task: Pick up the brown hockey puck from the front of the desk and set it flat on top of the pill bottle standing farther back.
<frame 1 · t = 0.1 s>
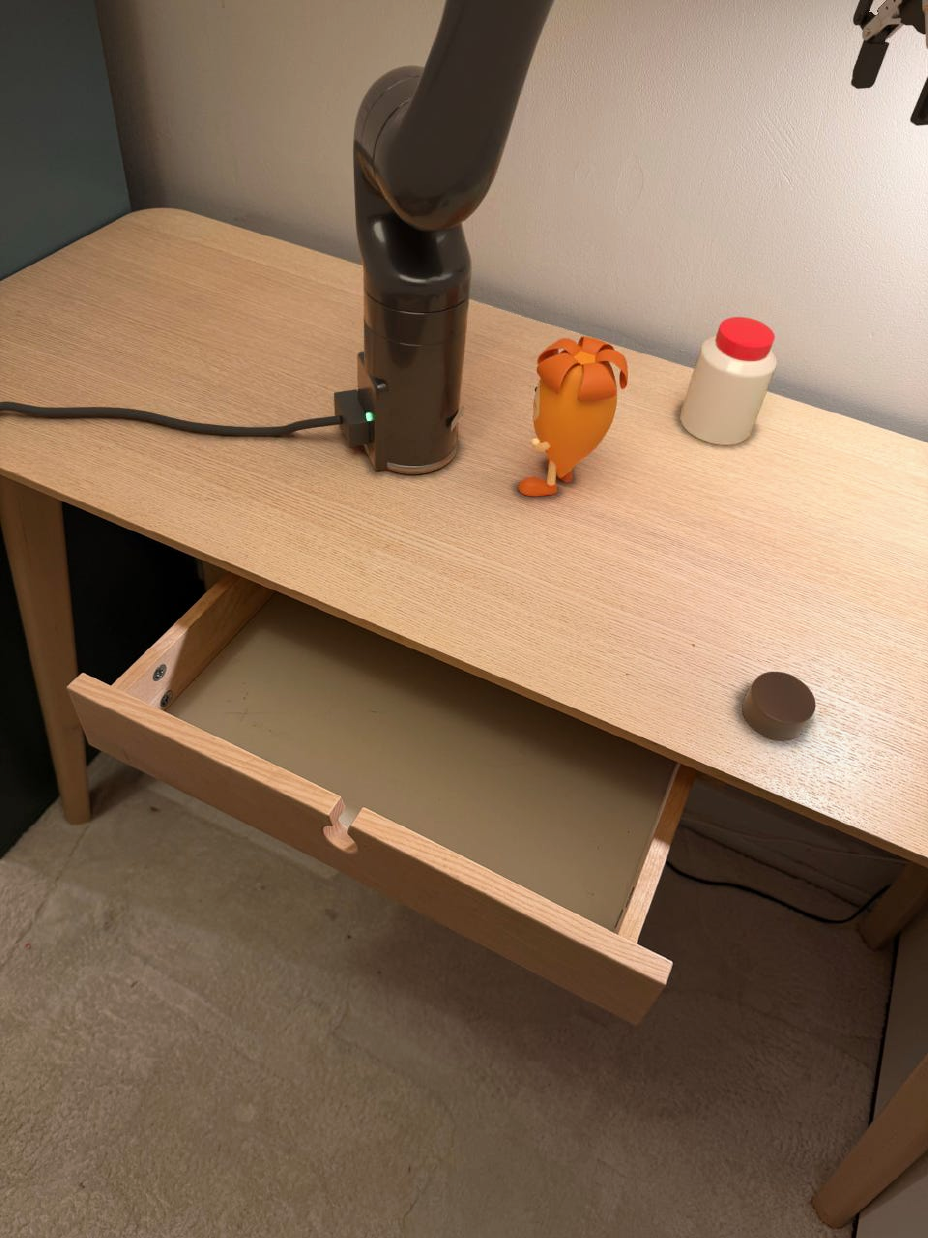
hand: (890, 104, 83), 29 cm above the table, tool pointing down, fingers open, 8 cm apart
brown hockey puck: (773, 714, 73), on the table
pill bottle: (714, 424, 98), on the table
toy figure: (559, 488, 89), on the table
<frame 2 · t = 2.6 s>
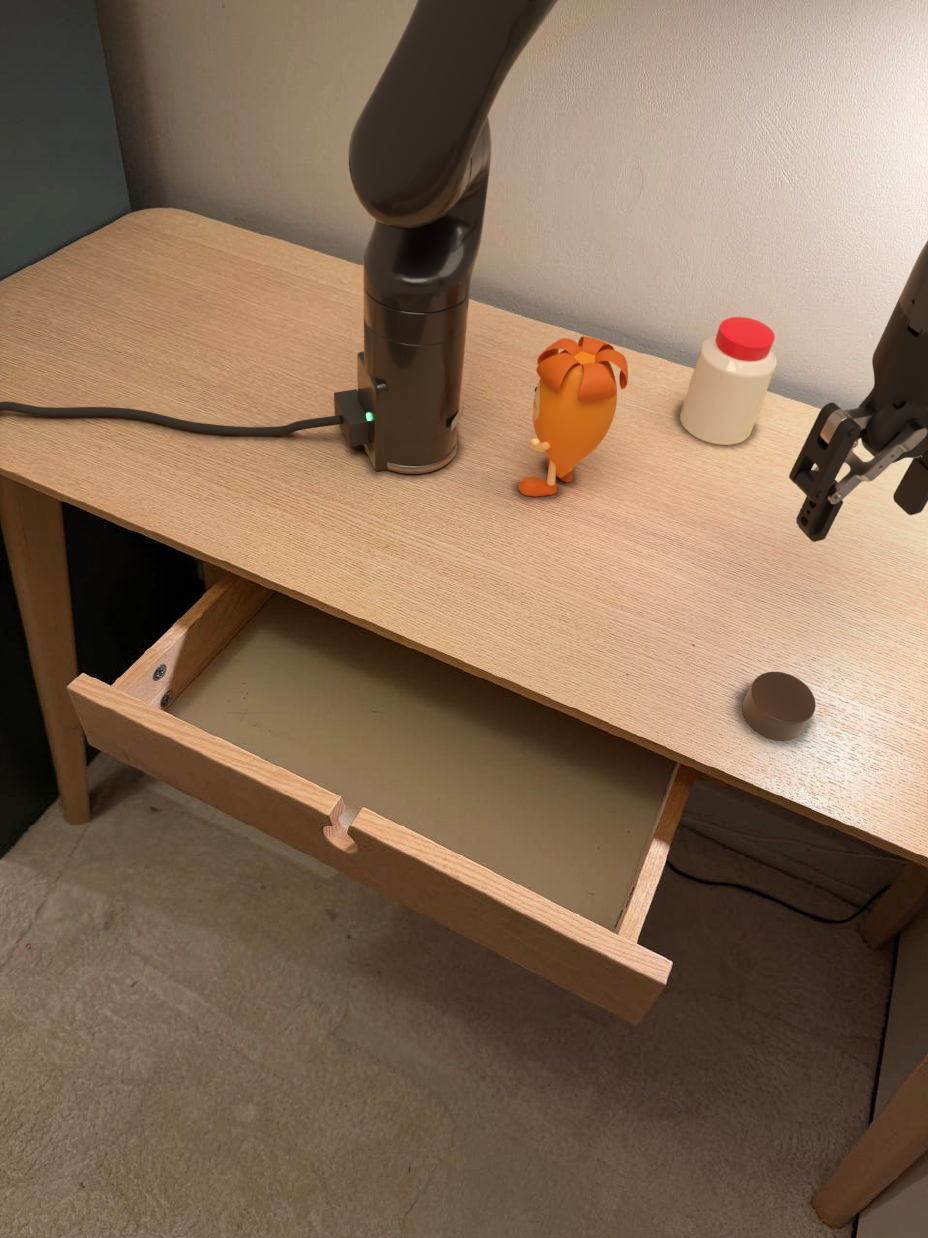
hand: (857, 520, 64), 16 cm above the table, tool pointing down, fingers open, 8 cm apart
nothing on the table moved.
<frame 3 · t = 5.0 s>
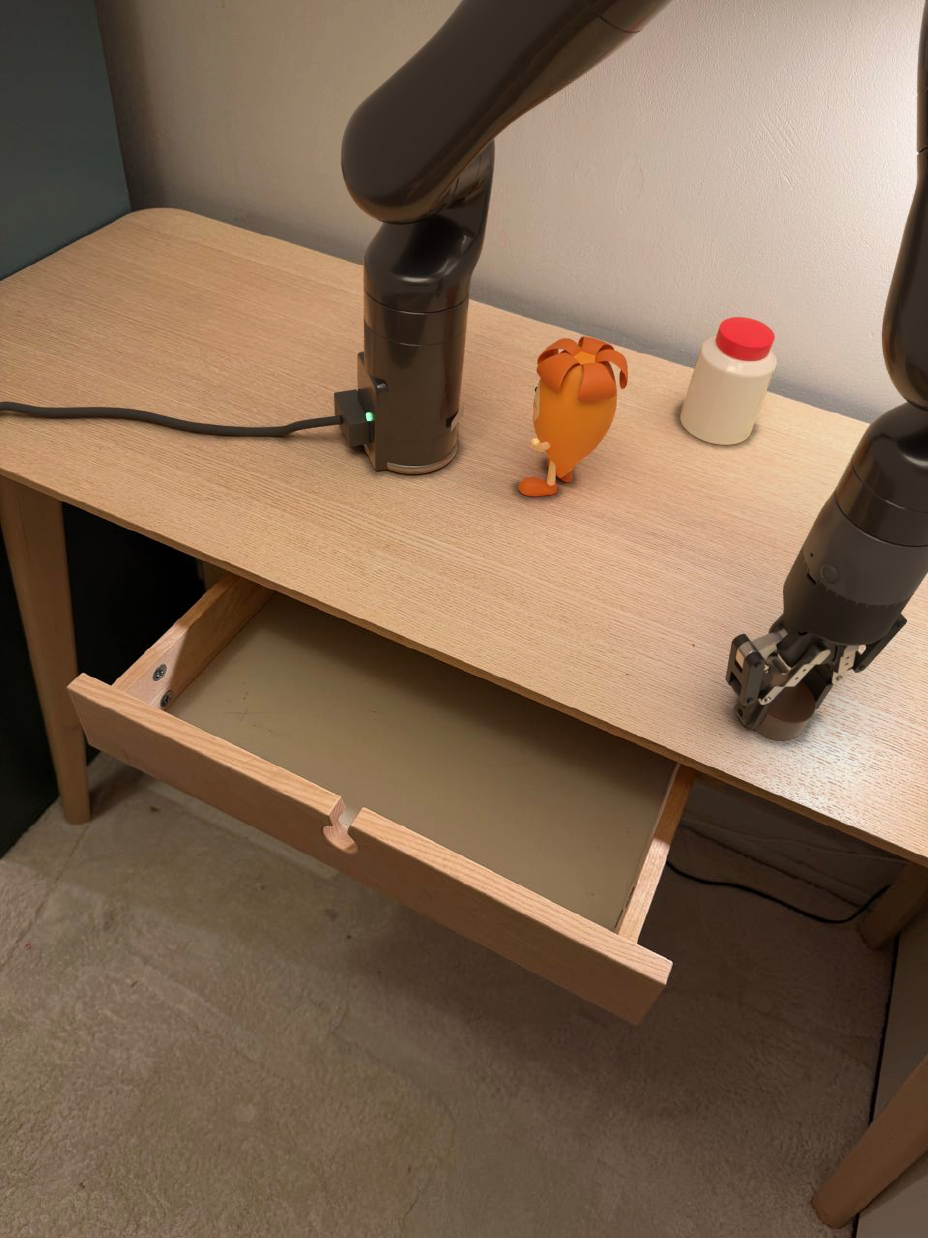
hand: (775, 710, 72), 1 cm above the table, tool pointing down, fingers closed on brown hockey puck, 5 cm apart
brown hockey puck: (773, 714, 73), on the table, touching gripper
everything else where it was.
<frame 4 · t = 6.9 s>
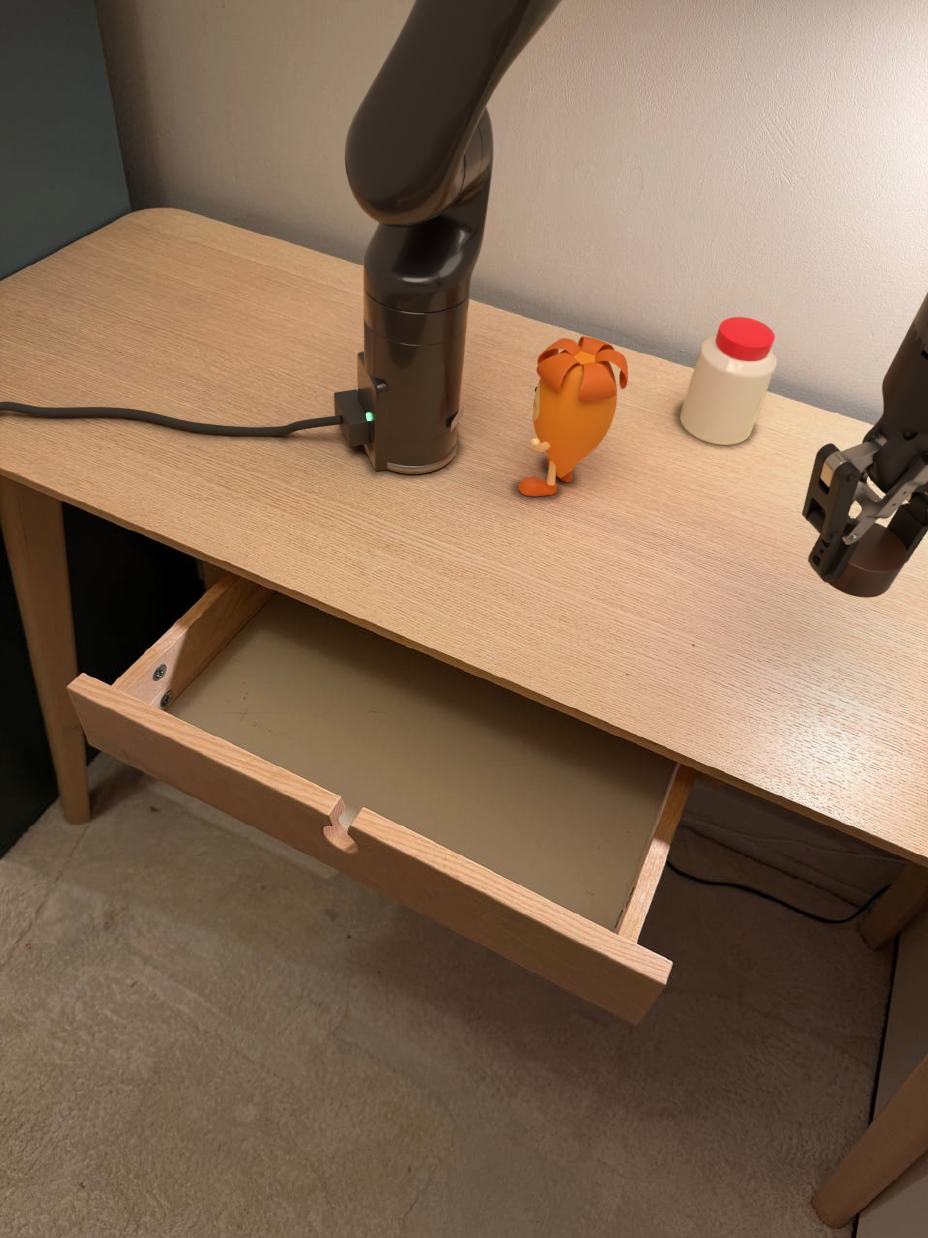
hand: (856, 563, 60), 17 cm above the table, tool pointing down, fingers closed on brown hockey puck, 5 cm apart
brown hockey puck: (852, 570, 60), point 16 cm above the table, touching gripper
everything else where it was.
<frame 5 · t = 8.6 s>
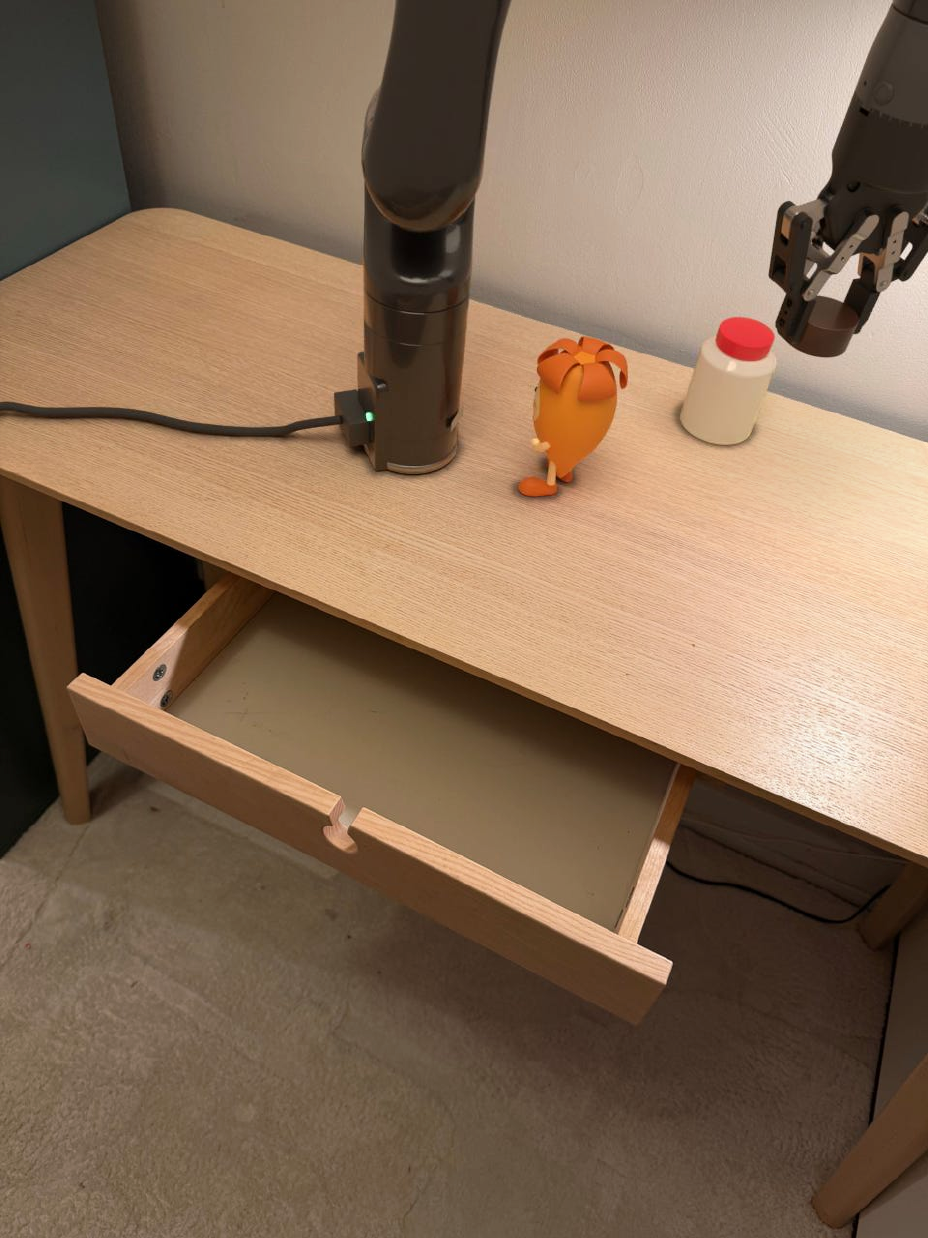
hand: (816, 332, 71), 21 cm above the table, tool pointing down, fingers closed on brown hockey puck, 5 cm apart
brown hockey puck: (814, 339, 71), point 21 cm above the table, touching gripper
everything else where it was.
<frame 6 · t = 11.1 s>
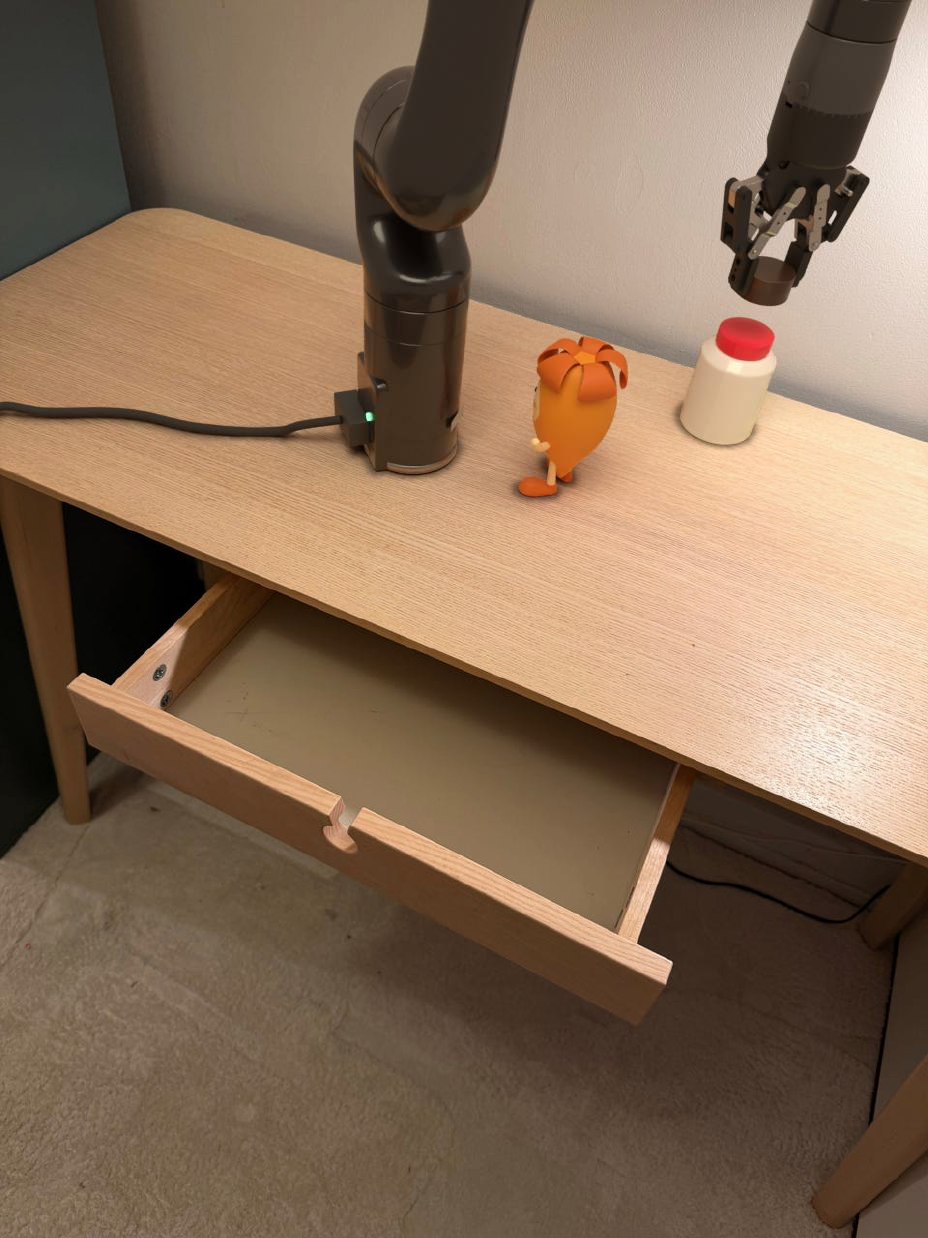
hand: (762, 286, 86), 16 cm above the table, tool pointing down, fingers closed on brown hockey puck, 5 cm apart
brown hockey puck: (761, 292, 87), point 15 cm above the table, touching gripper
everything else where it was.
when the fingers open (12 cm above the table, at t = 12.5 s): brown hockey puck stays where it is, resting on pill bottle.
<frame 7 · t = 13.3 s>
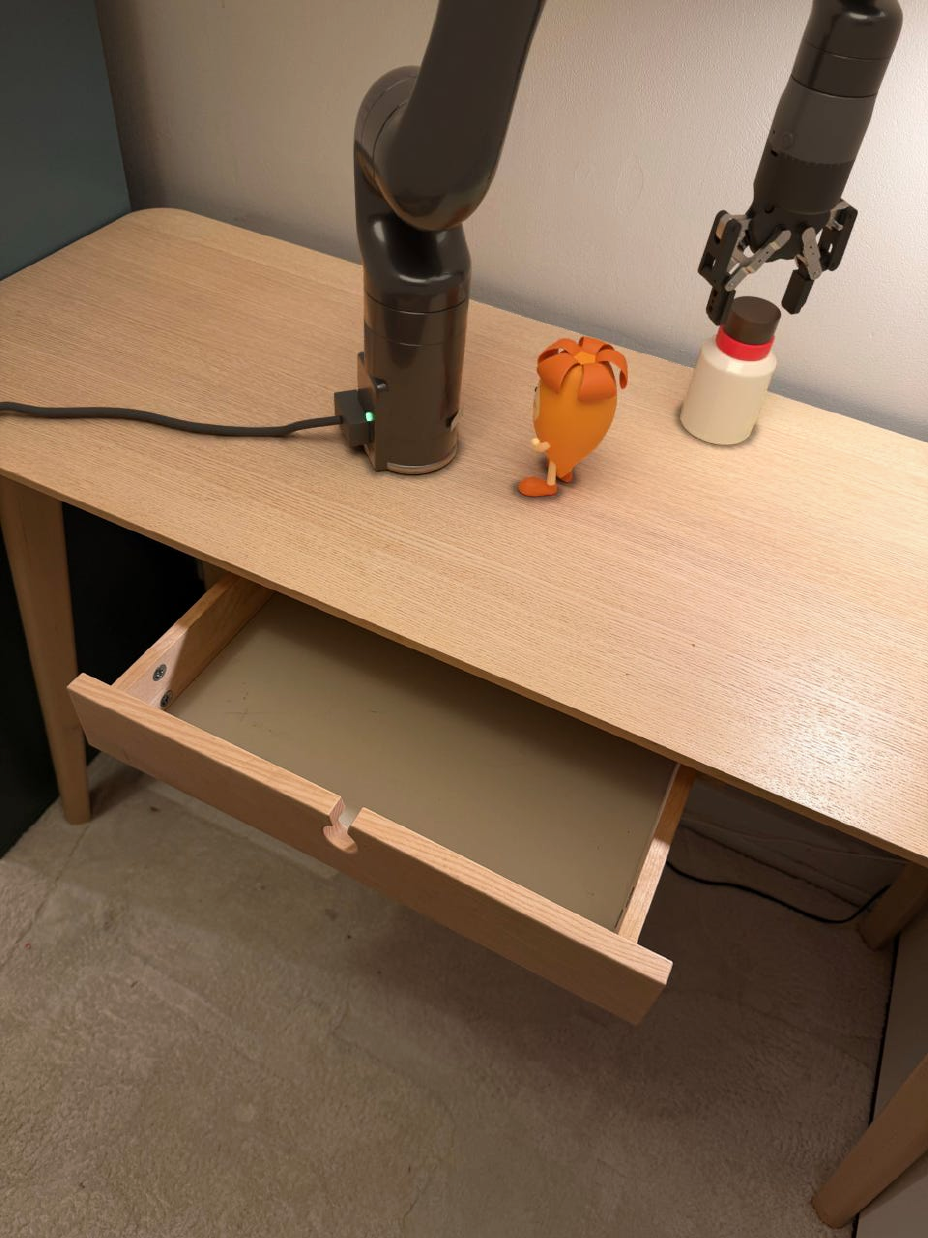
hand: (752, 315, 88), 13 cm above the table, tool pointing down, fingers open, 8 cm apart
brown hockey puck: (747, 331, 90), point 11 cm above the table, touching pill bottle
pill bottle: (714, 424, 98), on the table, touching brown hockey puck
everything else where it was.
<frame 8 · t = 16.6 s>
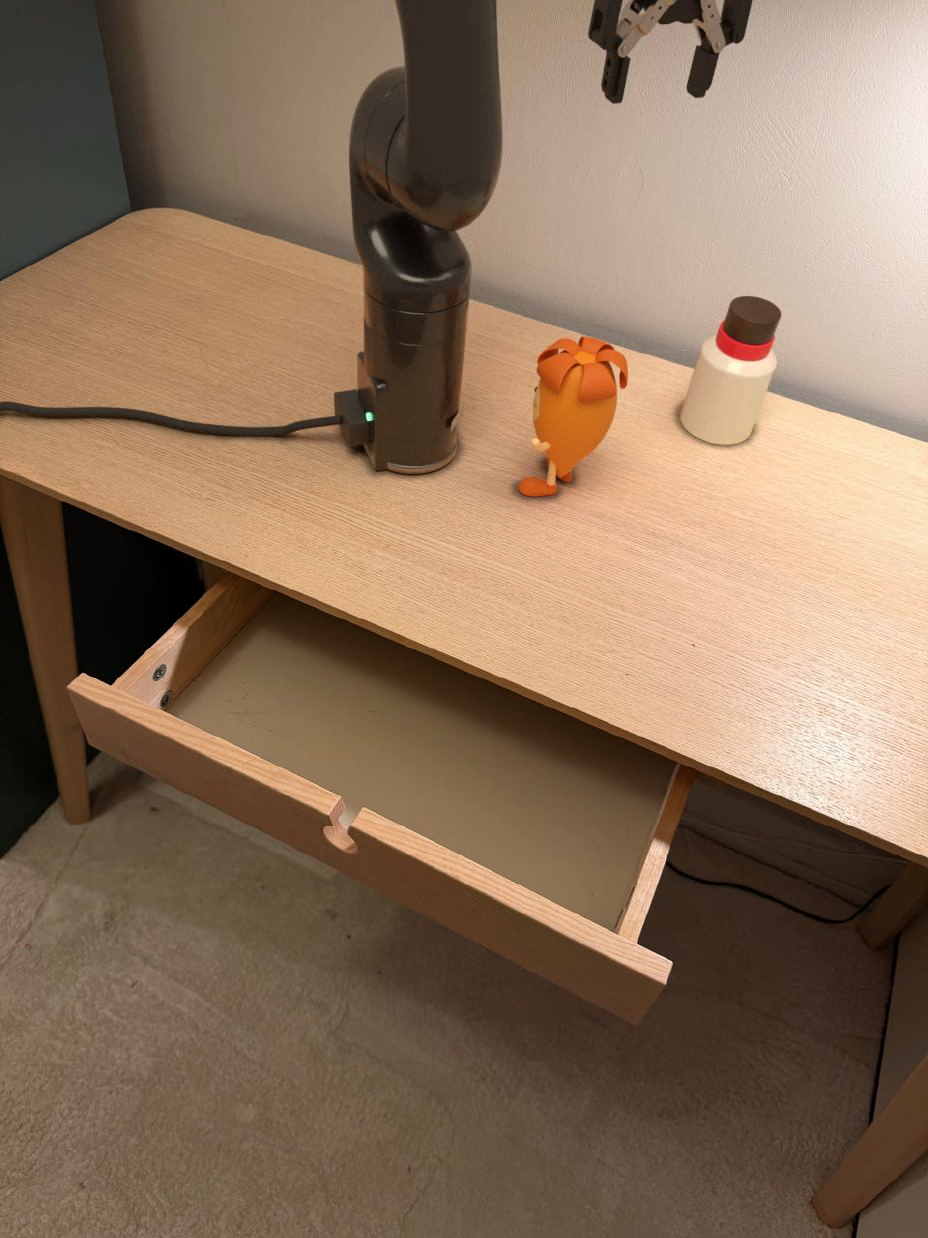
hand: (654, 97, 82), 28 cm above the table, tool pointing down, fingers open, 8 cm apart
nothing on the table moved.
at the end: brown hockey puck 0.1 cm off-centre on the pill bottle, point 11.2 cm above the pill bottle's base; brown hockey puck tilted 0°; pill bottle tilted 0° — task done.
